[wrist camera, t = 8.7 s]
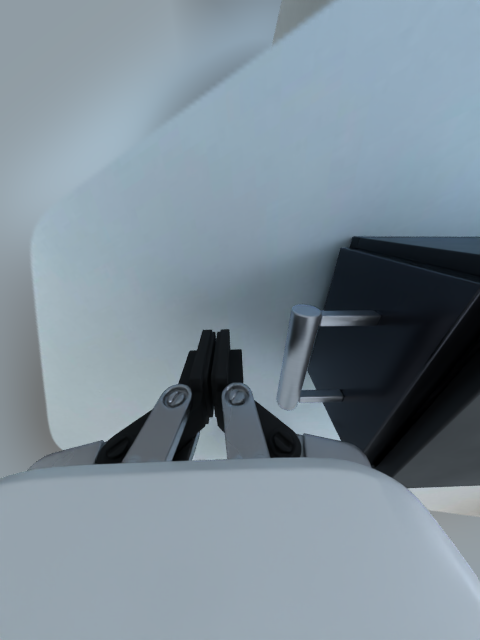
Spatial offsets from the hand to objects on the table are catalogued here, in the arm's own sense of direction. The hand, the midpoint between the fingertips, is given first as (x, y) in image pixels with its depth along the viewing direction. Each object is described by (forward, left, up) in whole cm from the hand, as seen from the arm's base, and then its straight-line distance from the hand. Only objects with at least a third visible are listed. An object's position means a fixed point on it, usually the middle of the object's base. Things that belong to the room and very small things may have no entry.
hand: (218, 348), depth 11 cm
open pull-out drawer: (0, +13, -3) cm, 13 cm away
